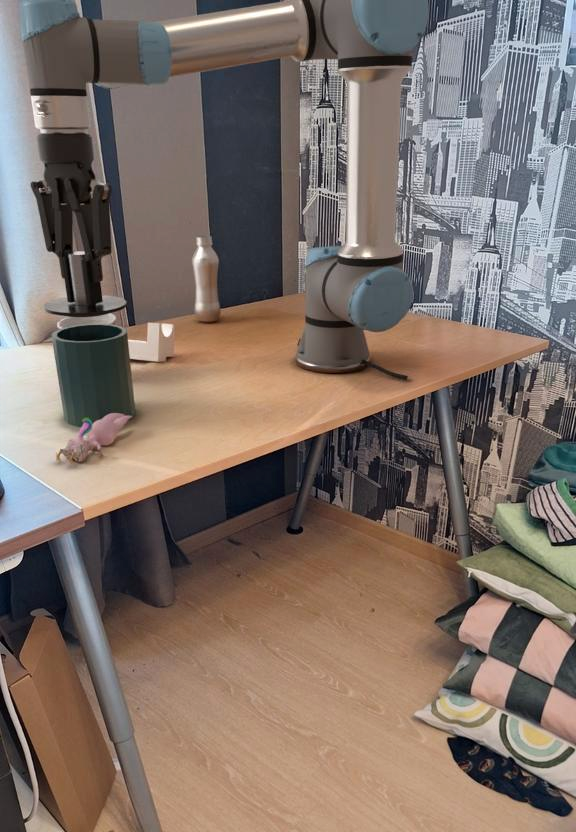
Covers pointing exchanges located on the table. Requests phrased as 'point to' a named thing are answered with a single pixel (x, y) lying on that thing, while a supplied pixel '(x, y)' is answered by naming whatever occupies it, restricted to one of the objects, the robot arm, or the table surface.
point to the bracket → (154, 343)
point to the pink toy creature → (93, 436)
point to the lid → (82, 296)
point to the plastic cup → (87, 320)
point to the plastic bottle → (205, 280)
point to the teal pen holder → (93, 372)
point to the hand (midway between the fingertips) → (85, 301)
